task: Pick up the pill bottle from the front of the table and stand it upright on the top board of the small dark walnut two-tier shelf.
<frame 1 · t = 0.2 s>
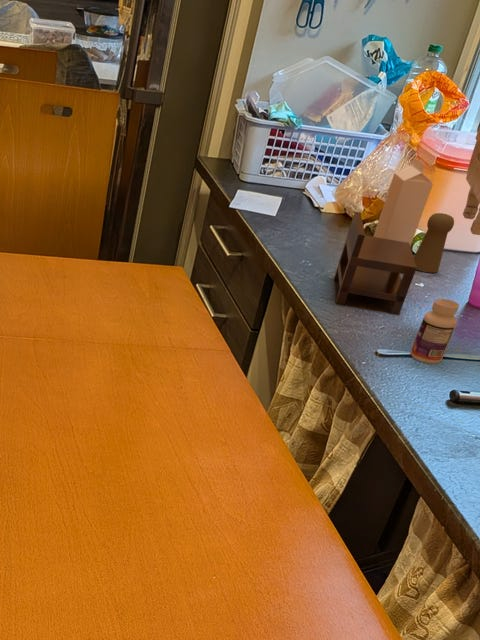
hand: (471, 225, 153), 21 cm above the table, tool pointing down, fingers open, 8 cm apart
pill bottle: (424, 359, 163), on the table
brown pawn: (423, 268, 203), on the table
shelf: (365, 295, 185), on the table
milk: (380, 274, 197), on the table
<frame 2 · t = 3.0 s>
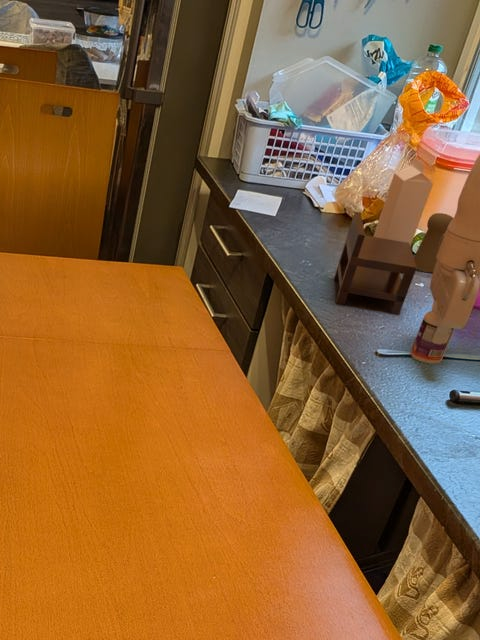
hand: (434, 335, 160), 4 cm above the table, tool pointing down, fingers closed on pill bottle, 5 cm apart
pill bottle: (424, 359, 163), on the table, touching gripper
everything else where it was.
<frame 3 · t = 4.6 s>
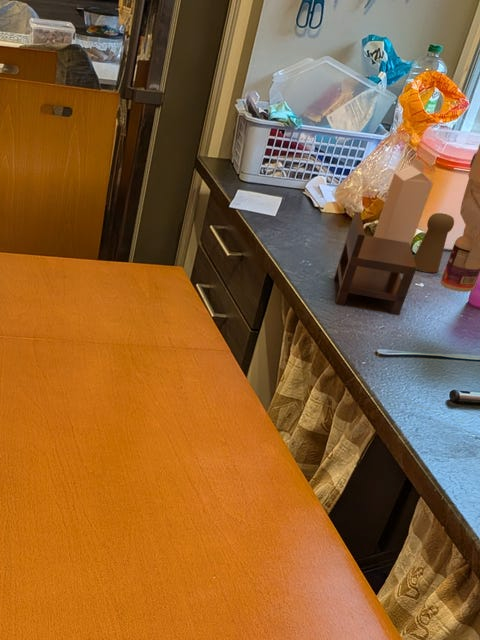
hand: (466, 261, 152), 17 cm above the table, tool pointing down, fingers closed on pill bottle, 5 cm apart
pill bottle: (455, 288, 155), point 12 cm above the table, touching gripper
everything else where it was.
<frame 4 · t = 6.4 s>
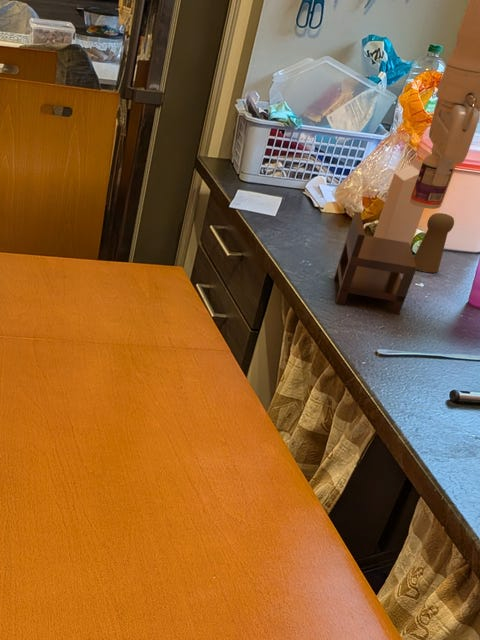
hand: (433, 179, 162), 24 cm above the table, tool pointing down, fingers closed on pill bottle, 5 cm apart
pill bottle: (424, 206, 164), point 20 cm above the table, touching gripper
everything else where it was.
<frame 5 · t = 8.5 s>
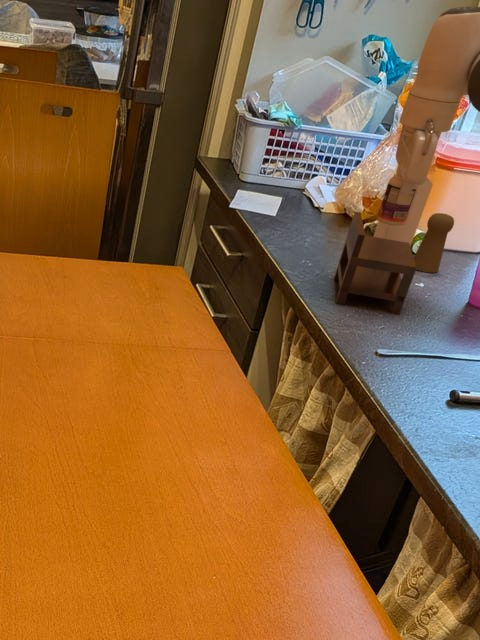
hand: (399, 198, 173), 18 cm above the table, tool pointing down, fingers closed on pill bottle, 5 cm apart
pill bottle: (390, 222, 176), point 14 cm above the table, touching gripper
everything else where it was.
when the fingers open (13 cm above the table, at t = 10.2 s): pill bottle stays where it is, resting on shelf.
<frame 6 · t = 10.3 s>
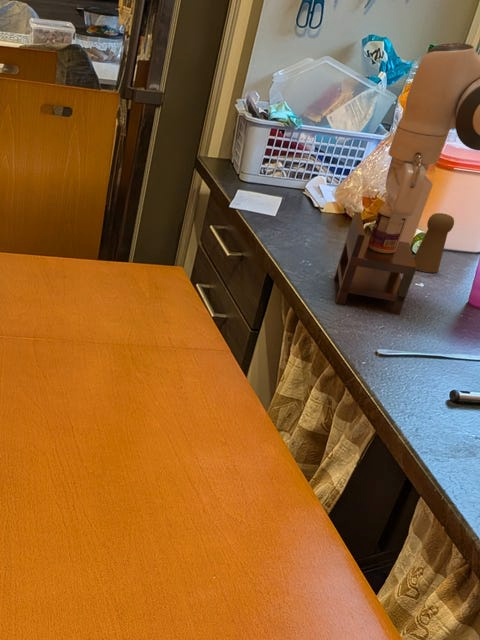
hand: (388, 227, 177), 13 cm above the table, tool pointing down, fingers open, 5 cm apart
pill bottle: (380, 250, 179), point 9 cm above the table, touching shelf
everything else where it was.
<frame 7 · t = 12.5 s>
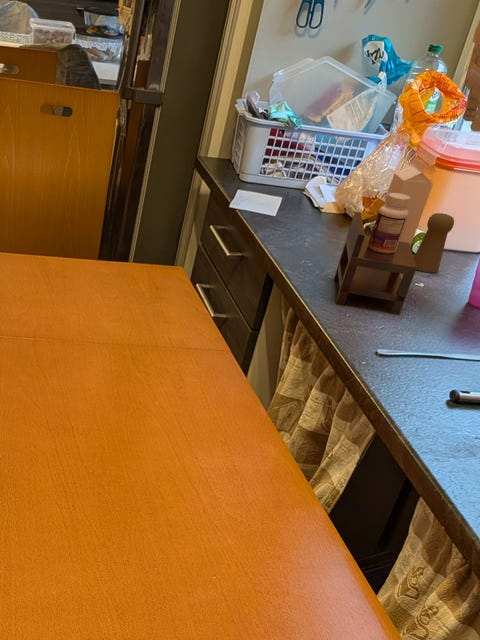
hand: (471, 125, 165), 31 cm above the table, tool pointing down, fingers open, 8 cm apart
nothing on the table moved.
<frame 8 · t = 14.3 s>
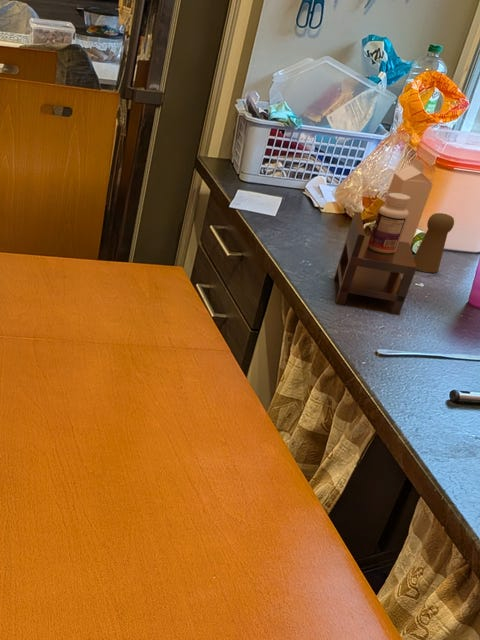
nothing on the table moved.
at the end: pill bottle inside the target area on the shelf (0.1 cm from its centre), point 8.8 cm above the shelf's base; pill bottle tilted 0°; the gripper is holding nothing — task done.
